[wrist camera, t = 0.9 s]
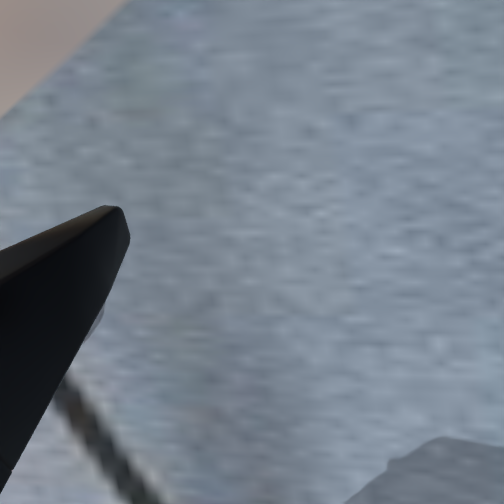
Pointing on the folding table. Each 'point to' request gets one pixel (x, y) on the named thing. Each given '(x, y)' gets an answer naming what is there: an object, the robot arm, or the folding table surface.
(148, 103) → the folding table surface
